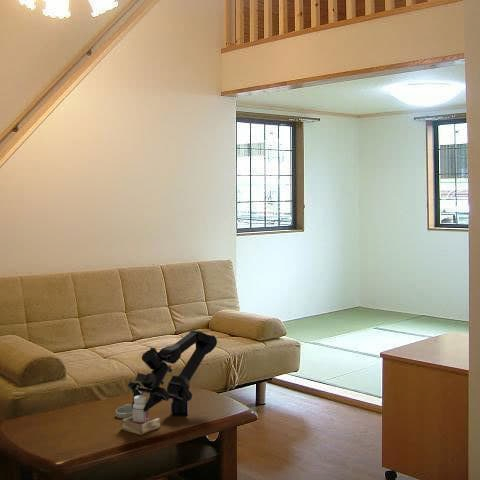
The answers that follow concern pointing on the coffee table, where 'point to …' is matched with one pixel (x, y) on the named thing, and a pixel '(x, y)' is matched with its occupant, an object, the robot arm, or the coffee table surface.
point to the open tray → (139, 426)
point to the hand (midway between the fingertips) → (138, 409)
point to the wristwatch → (124, 411)
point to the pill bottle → (140, 410)
